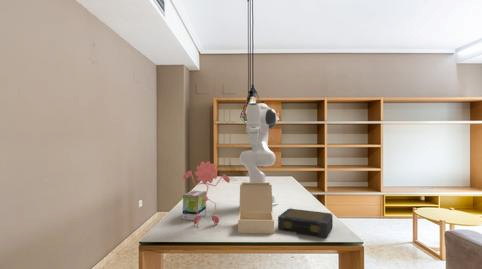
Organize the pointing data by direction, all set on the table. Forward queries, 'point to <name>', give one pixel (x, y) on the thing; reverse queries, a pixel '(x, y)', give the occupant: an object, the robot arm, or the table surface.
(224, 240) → the table surface
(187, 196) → the tea box
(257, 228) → the mailer box
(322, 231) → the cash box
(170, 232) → the table surface
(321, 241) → the table surface
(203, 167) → the figurine
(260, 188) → the lid
